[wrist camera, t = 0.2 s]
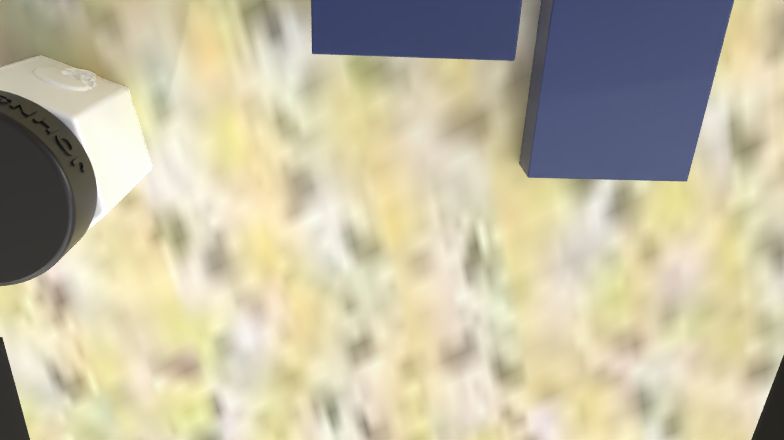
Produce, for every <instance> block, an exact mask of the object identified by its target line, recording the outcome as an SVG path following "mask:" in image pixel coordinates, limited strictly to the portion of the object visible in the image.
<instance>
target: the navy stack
mask: <svg viewBox="0 0 784 440" xmlns="http://www.w3.org/2000/svg"><path fill="white" fill-rule="evenodd" d="M733 3H734V0H541V7H540V15H539V22H538V29H537V37H536V44H535V51H534V59H533V66H532V73H531V81H530V88H529V96H528V103H527V110H526V118H525V125H524V132H523V140H522V147H521V155H520V162H519V164H520V166H521V167H522V169H523V170H524V172H525V174H526V175H527V177H529V178H569V179H610V180H652V181H687V179H688V175H689V171H690V168H691V164H692V160H693V156H694V152H695V149H696V145H697V141H698V137H699V133H700V129H701V126H702V122H703V118H704V114H705V110H706V106H707V103H708V99H709V95H710V91H711V87H712V83H713V80H714V76H715V72H716V68H717V64H718V60H719V57H720V53H721V49H722V45H723V41H724V37H725V34H726V30H727V26H728V22H729V18H730V14H731V11H732V7H733Z"/></svg>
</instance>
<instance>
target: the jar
mask: <svg viewBox="0 0 784 440" xmlns="http://www.w3.org/2000/svg"><path fill="white" fill-rule="evenodd" d="M152 168H153V166H152V162H151V159H150V156H149V153H148V149H147V146H146V143H145V140H144V137H143V133H142V130H141V127H140V124H139V120H138V117H137V114H136V111H135V108H134V104H133V101H132V98H131V95H130V92H129V89H128V88H127V87H125V86H122V85H120V84H117V83H114V82H112V81H109V80H107V79H104V78H101V77H99V76H96V74H95V73H94V72H92V71H89V70H85V69H78V68H75V67H72V66H69V65H67V64H64V63H61V62H59V61H56V60H53V59H51V58H48V57H45V56H43V55H38V56H35V57H31V58H28V59H25V60H21V61H18V62H15V63H11V64H8V65H5V66H1V67H0V286H7V285H13V284H18V283H22V282H25V281H28V280H31V279H33V278H35V277H37V276H39V275H41V274H43V273H44V272H46V271H47V270H49V269H50V268H51V267H53V266H54V265H55V264H56V263H57V262H58V261H59V260H60V259H61V258H62V257H63V256H64V255H65V254H66V253H67V252H68V251H69V250H70V249H71V248H72V247H73V246H74V245H75V244H76V243H77V242H78V241H79V240H80V239H81V238H82V237H83V235H84V234H85V233H86V231H87V230H88V229H89V228H91V227H92V226H93V225H94V224H96V223H97V222H98V221H99V220H101V219H102V218H103V217H104V216H105V215H107V214H108V213H109V212H110V211H111V210H112V209H113V208H114V207H115V206H116V205H117V204H118V203H119V202H120V201H121V200H122V199H123V198H124V197H125V196H126V195H127V194H128V193H129V192H130V191H131V190H132V189H133V188H134V187H135V186H136V185H137V184H138V183H139V182H140V181H141V180H142V179H143V178H144V177H145V176H146V175H147V174H148V173H149V172H150V171H151V170H152Z"/></svg>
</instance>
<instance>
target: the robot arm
mask: <svg viewBox="0 0 784 440" xmlns="http://www.w3.org/2000/svg"><path fill="white" fill-rule="evenodd" d="M0 440H30V438H29V434H28V430H27V427H26V423H25V419H24V416H23V412H22V408H21V405H20V401H19V397H18V394H17V390H16V386H15V382H14V379H13V375H12V371H11V368H10V364H9V360H8V357H7V353H6V349H5V346H4V342H3V338H2V337H0ZM752 440H784V356H783V358H782V361H781V363H780V366H779V369H778V371H777V374H776V377H775V379H774V382H773V384H772V387H771V390H770V392H769V395H768V398H767V400H766V403H765V405H764V408H763V411H762V413H761V416H760V419H759V421H758V424H757V426H756V429H755V432H754V434H753V437H752Z"/></svg>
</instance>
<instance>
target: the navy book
mask: <svg viewBox="0 0 784 440" xmlns="http://www.w3.org/2000/svg"><path fill="white" fill-rule="evenodd" d="M521 6H522V0H311V15H312V54H331V55H360V56H389V57H418V58H447V59H477V60H506V61H514V60H515V55H516V46H517V38H518V30H519V22H520V14H521Z"/></svg>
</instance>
